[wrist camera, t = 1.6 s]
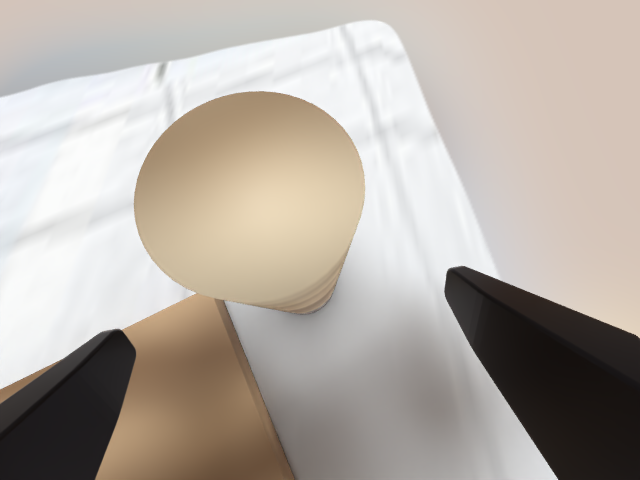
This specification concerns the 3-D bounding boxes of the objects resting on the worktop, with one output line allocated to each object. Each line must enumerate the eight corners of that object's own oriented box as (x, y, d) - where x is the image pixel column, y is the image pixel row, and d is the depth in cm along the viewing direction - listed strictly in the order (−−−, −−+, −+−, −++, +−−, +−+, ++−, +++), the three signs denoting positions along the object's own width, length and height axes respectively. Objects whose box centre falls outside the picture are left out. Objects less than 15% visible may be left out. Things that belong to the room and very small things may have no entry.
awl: (345, 295, 17) (409, 230, 4) (288, 325, 16) (177, 349, 4) (317, 241, 18) (302, 63, 5) (262, 268, 17) (108, 141, 5)
